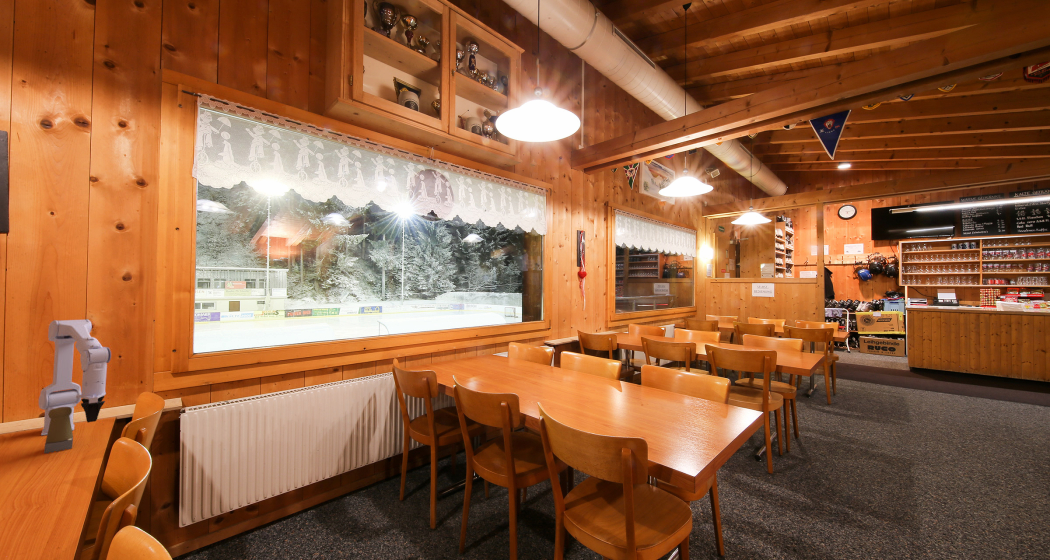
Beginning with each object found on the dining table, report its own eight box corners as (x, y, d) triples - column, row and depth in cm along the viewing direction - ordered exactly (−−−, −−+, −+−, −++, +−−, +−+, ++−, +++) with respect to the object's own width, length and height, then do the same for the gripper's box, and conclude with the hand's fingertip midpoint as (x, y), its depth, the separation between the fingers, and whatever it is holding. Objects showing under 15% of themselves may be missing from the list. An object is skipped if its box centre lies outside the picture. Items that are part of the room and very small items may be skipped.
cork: (78, 436, 134) (79, 405, 134) (55, 443, 128) (56, 410, 128) (63, 436, 135) (64, 405, 135) (40, 442, 129) (41, 410, 129)
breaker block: (45, 448, 131) (46, 439, 131) (72, 444, 135) (73, 434, 135) (44, 453, 127) (44, 443, 127) (72, 448, 131) (72, 439, 131)
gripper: (77, 380, 139) (75, 417, 139) (76, 386, 130) (74, 426, 129) (106, 377, 145) (103, 413, 144) (107, 383, 135) (104, 421, 134)
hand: (91, 419), depth 137 cm, fingers open, 7 cm apart
